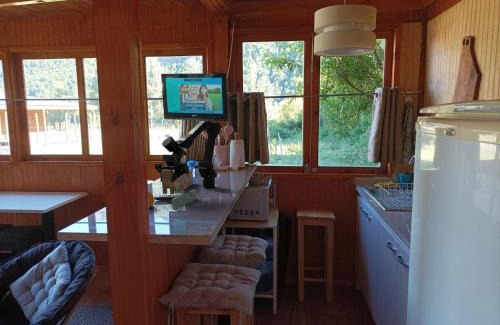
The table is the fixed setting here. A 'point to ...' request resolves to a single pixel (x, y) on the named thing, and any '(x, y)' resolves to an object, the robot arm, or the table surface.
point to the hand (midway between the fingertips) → (166, 181)
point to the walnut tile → (167, 181)
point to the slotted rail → (183, 199)
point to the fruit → (150, 199)
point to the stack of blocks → (183, 181)
